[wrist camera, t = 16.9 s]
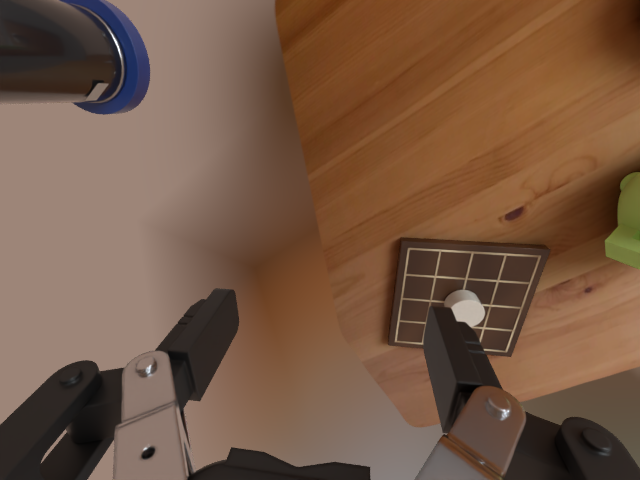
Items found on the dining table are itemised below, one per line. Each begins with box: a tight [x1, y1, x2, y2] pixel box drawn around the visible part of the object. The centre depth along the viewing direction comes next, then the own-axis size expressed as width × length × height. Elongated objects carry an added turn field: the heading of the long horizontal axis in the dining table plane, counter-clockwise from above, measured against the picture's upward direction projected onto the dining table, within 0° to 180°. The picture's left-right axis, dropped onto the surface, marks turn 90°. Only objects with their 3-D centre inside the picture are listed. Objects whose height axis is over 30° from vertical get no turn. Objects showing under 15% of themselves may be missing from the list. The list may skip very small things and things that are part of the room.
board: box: [388, 238, 550, 357], centre depth 43 cm, size 18×18×1 cm
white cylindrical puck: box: [444, 290, 485, 327], centre depth 41 cm, size 5×5×2 cm
